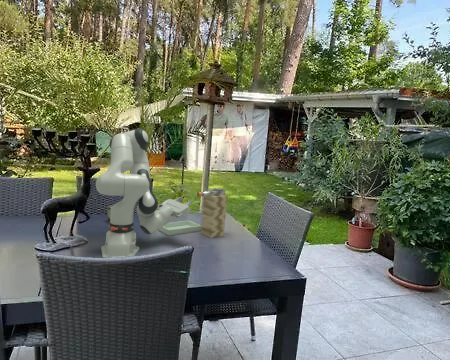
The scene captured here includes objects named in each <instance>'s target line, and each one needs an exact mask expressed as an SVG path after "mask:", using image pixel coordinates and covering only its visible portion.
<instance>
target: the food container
mask: <svg viewBox="0 0 450 360" xmlns="http://www.w3.org/2000/svg"><path fill="white" fill-rule="evenodd" d="M112 206H113V205H112ZM112 206H111V205H110V206H109V205H107V207H106V212H107V215H106V216H107V217H106V218H107V223H110V216H111V207H112Z"/></svg>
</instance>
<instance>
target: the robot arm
mask: <svg viewBox="0 0 450 360" xmlns="http://www.w3.org/2000/svg"><path fill="white" fill-rule="evenodd" d="M148 145H149V135H148V132H147V131H146V130H145V129H143V128H136V129H134V130H129V131H125V132H121V133H117V134H115V135H114V136H113V137H111V138H110V141H109V148H110V164H109V167H108V169H107V170H105V172H104V173H102V174H100V175H99V176H98V177H97V178H96V181H95V188H96V190H97V192H98V193H99V194H100V195H104V196H108V197H109V196H112V197H113V196H116V197H117V196H118V197H120V196H121V197H123V198H122V199H121V200H120V201H119V202H115V203H114V204H113V205H112V207H111V216H110V223H109V222H108V223H109V224H108V231H107V232H106V234H105V241H104V245H103V246H101V247H100V251H101V256H102V257H101V258H102V259H104V258H110V257H128V256H134V257H135V256H136V255H137V254H138V252H139V251H140V247H139V246H138V245H137V233H136V231H134V226H135V225H134V212H135V208H136V215H137V217H138V219H139V227H140V230H141V231H142V232H144V233H145V234H147V235H152V234H155V233H156V232H159V231H158V230H159V229H161V228H162V227H163V226H164V225H165V224H167V223H171V221H173V220H175V218H176V219H177V218H182V217H184V216H185V215H187V214H189V213H190V212H191V209H190V207H191V205H192V204H193V202H192V201H191V200H188V201H187V202H186V203H185V204H184V203H182V201H183V197H182V196H180V197H178V198H175V199H172V198H168V199H166V200H165V201H162V203H160V204H159V201H158V199H157V197H156V195H155V194H154V192H153V187H152V183H151V178H150V177H151V170H150V162H149V158H148V155H147V152H146V150H147V146H148ZM128 171H129V172H130V173H126V172H128ZM137 203H138V204H137ZM136 206H137V207H136Z"/></svg>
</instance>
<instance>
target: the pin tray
mask: <svg viewBox="0 0 450 360" xmlns="http://www.w3.org/2000/svg"><path fill="white" fill-rule="evenodd" d="M201 229H202V224H201V225H200V224H198V223H197V222H194V221H191V220H182V221H173V222H169V223H167V224H165V225H164V226H163V227H162V228H161V229H159V230H158V231H157V232H161V233H162V234H164V235H165V236H168V237H171V236H178V235H183V234H192V233H199V232H201ZM198 231H199V232H198Z"/></svg>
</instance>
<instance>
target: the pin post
mask: <svg viewBox="0 0 450 360" xmlns="http://www.w3.org/2000/svg"><path fill="white" fill-rule="evenodd" d="M217 190H218V191H217ZM208 191H211V195H208V196H203V205H202V216H201V218H202V219H201V226H202V228H201V231H200V234H201V235H204V236H206V237H208V238H210V239H213V238H218V237H224V236H225V225H226V214H227V213H226V212H227V200H228V195H226V189H225V188H221V187H214V189H206V191H205V192H208Z"/></svg>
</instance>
